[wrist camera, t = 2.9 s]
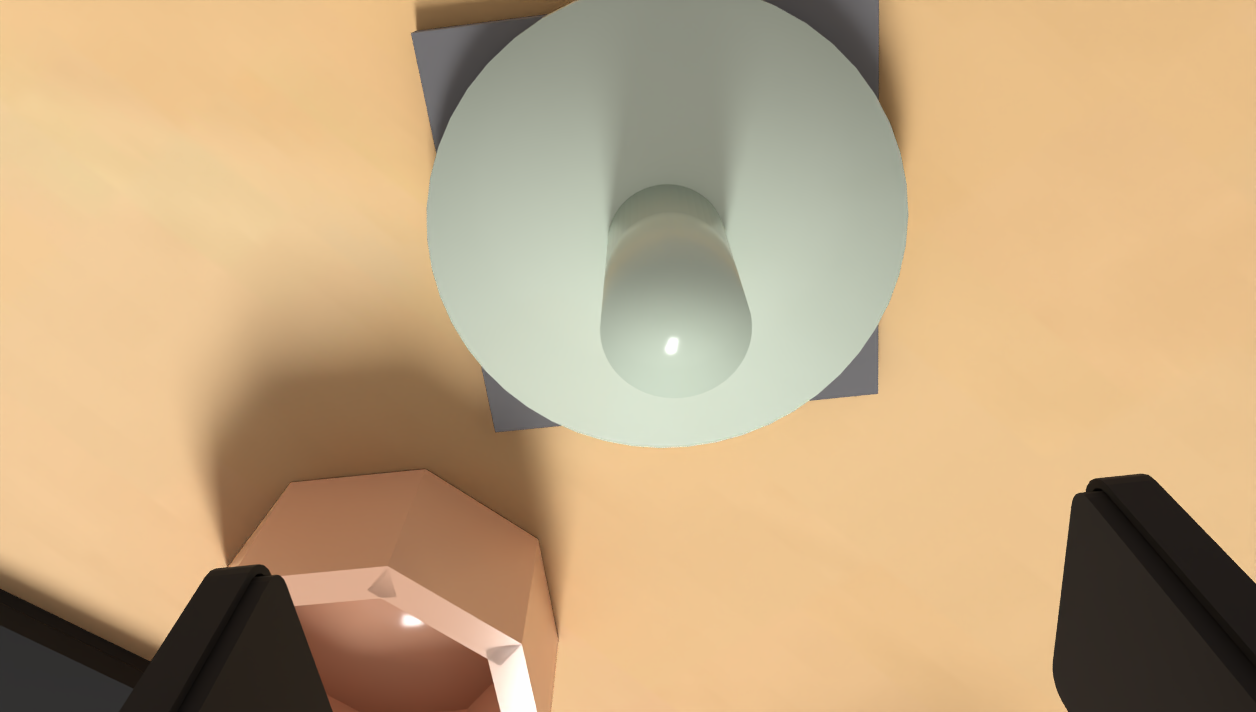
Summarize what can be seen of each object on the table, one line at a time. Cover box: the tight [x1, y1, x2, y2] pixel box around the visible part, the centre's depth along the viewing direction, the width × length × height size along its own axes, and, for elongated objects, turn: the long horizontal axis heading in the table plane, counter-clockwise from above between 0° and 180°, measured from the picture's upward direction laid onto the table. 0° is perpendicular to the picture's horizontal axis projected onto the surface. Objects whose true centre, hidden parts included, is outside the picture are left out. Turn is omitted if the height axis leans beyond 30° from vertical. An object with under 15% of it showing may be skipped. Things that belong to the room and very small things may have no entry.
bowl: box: [228, 469, 558, 712], centre depth 30 cm, size 11×11×5 cm
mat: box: [411, 0, 879, 432], centre depth 25 cm, size 12×12×1 cm
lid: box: [427, 0, 908, 448], centre depth 22 cm, size 13×13×7 cm
